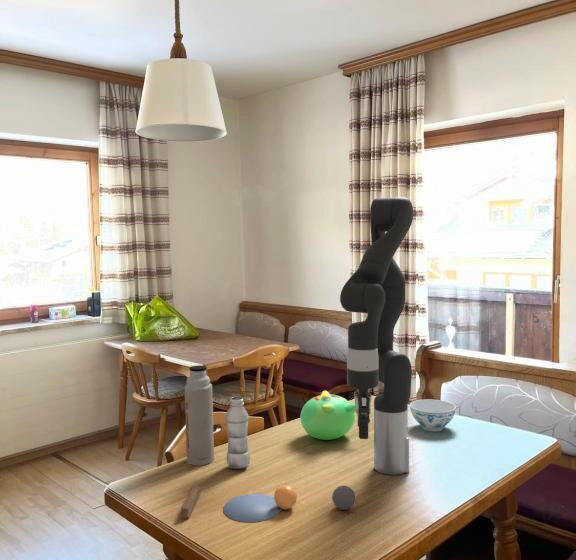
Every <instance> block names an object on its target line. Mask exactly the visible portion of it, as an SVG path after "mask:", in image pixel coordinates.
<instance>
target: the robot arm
mask: <svg viewBox="0 0 576 560" xmlns="http://www.w3.org/2000/svg"><path fill="white" fill-rule="evenodd" d="M369 211H370V212H369V222H370V223H369V224H370V225H369V227H370V240H371V244H370V245H369V246H368V247H367V248H366V250H365V252H364V254H363V255H362V258H361V260H360V263H359V266H358V269H356V270H355V272H354V273H353V274H352V275H351V276H350V277H349V279H348V280H347V281H345V284H344V285H343V287H342V288H341V292H340V295H339V302H340V305H341V307H342V308H343V309H344V310H345V311H346V312H350V313H362V314H363V313H364V314H367V316H366V319H365V320H363V321H356V322H352V323H350V324H349V325H348V329H347V355H346V384H347V386H348V387H350V388H352V389H356V391H354V394H353V395H354V397H353V398H354V404H355V406H356V412H355V414H357V427H358V438H359V439H360V440H367V439H369V424H370V422H371V419H370V414H372V413H371V412H372V407H371V403H372V392H371V391H369V390H370V389H375V388H378V386H379V384H380V383H383V390H382V391H383V393H382V394H378V395H376V396H375V397H374V399H373V463H374V470H376V472H378V473H381V474H384V475H390V476H391V475H392V476H393V475H401V474H405V473H410V439H409V436H408V434H409V432H408V427H409V426H408V425H409V424H408V421H409V420H408V419H409V417H408V414H409V413H408V407H409V401H410V399H411V393H412V392H411V389H412V373H413V372H412V364H411V361H410V358H409V356H407V355H406V354H404V353H402V352H398V351H394V347H393V345H394V344H393V336H394V331H395V327H396V325H397V323H398V321H399V319H400V317H401V315H402V313H403V311H404V307H405V304H406V278H405V276H404V273H403V271H402V270H401V268H400V266H399V265H398V263H397V261H396V260H395V259H394V255H395V254H396V252H397V251H398V249H399V247H400V246H401V244H402V243H403V241H404V239H405V238H406V236H407V234H408V232H409V231H410V228H411V227H412V223H413V221H414V207H413V203H412V201H411V199H409V198H407V197H403V196H402V197H399V196H397V197H396V196H395V197H378V198H375V199H373V200H372V202H371V205H370V209H369ZM379 382H380V383H379Z"/></svg>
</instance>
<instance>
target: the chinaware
mask: <svg viewBox="0 0 576 560" xmlns="http://www.w3.org/2000/svg"><path fill="white" fill-rule="evenodd" d="M409 409H410V411H411V412H410V413H411V415H412V417H413V419H414V420H415V421H416V423H418V424H419V425H421V427H422V429H423V430H424V431H428V432H440V431H443V429H444V427H446V426H447V425H448V424H450V422H451V421H452V420H453V418H454V416H455V413H456V409H457V407H456V405H455V404H454V403H452V402H449V401H446V400H440V399H429V398H427V399H417V400H413V401H412V402H410V404H409Z"/></svg>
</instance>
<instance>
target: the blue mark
mask: <svg viewBox="0 0 576 560" xmlns="http://www.w3.org/2000/svg"><path fill="white" fill-rule="evenodd" d="M281 511H282V509H281V508H279V507H278V506H277V505H276V503H275V501H274V496H271V495H268V494H263V493H249V494H242V495H239V496H236V497H233V498H232V499H229V500H228V501H227V502H225V504H224V506H223V513H224V515H225V516H226V517H227V518H229V519H232V520H233V521H237V522H242V523H257V522H263V521H267V520H270V519H272V518H274V517H276V516H277V515H279V514H280V512H281Z"/></svg>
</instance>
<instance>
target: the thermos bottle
mask: <svg viewBox="0 0 576 560" xmlns="http://www.w3.org/2000/svg"><path fill="white" fill-rule="evenodd" d="M207 367H208V366H206V365H200V364H198V365H192V366H190V367H189V376H188V377H187V378H186V385H184V404H185V405H184V406H185V407H184V408H185V411H184V414H185V439H186V440H185V444H186V463H188V464H189V463H190V464H189V465H191V464H193V465H192V466H206V465H209V464H211V463H213V462H214V460H215V442H214V441H215V440H214V406H213V403H214V401H213V398H214V397H213V384H212V383H211V379H210V377H209V376H208V374H207V370H208V369H207ZM208 463H209V464H208ZM205 464H206V465H205Z"/></svg>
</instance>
